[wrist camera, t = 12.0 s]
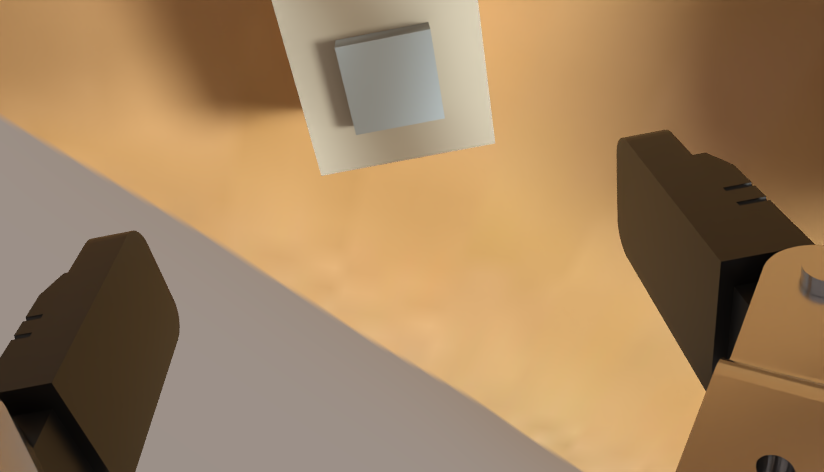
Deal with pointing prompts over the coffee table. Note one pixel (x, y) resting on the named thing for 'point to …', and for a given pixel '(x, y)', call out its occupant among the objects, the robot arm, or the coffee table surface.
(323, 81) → the block
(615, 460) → the coffee table surface
